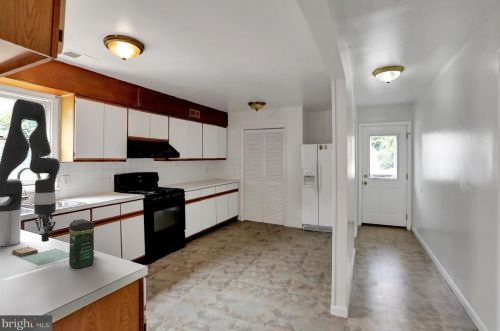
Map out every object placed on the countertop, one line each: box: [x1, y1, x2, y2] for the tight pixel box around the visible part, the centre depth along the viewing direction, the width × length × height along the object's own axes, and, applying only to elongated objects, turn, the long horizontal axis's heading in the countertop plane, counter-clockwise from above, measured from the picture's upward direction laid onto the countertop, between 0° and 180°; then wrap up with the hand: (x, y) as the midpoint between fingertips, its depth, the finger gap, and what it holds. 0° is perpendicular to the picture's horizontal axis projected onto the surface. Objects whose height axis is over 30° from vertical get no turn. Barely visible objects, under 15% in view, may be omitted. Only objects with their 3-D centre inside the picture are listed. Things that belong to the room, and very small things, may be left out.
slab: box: [11, 246, 39, 258], centre depth 120 cm, size 2×6×9 cm
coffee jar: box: [68, 218, 95, 269], centre depth 109 cm, size 10×8×19 cm
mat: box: [19, 248, 69, 266], centre depth 116 cm, size 17×14×1 cm
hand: (45, 241), depth 117 cm, fingers closed
